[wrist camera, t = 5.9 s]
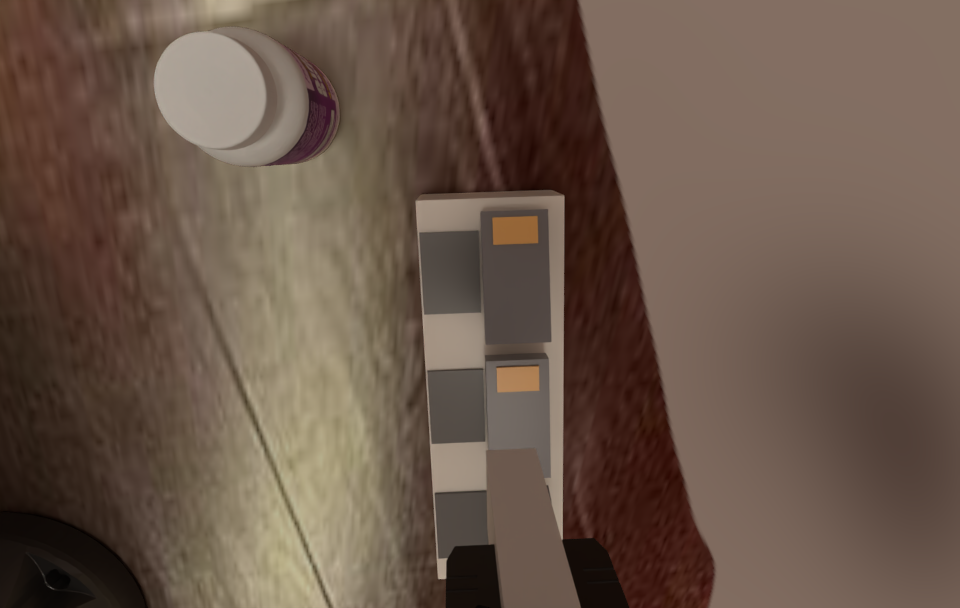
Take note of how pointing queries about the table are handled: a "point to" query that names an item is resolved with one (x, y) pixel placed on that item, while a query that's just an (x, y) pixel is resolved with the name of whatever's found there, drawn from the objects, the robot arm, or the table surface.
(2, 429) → the table surface
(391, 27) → the table surface
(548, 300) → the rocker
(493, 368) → the rocker
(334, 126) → the pill bottle
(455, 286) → the power strip
